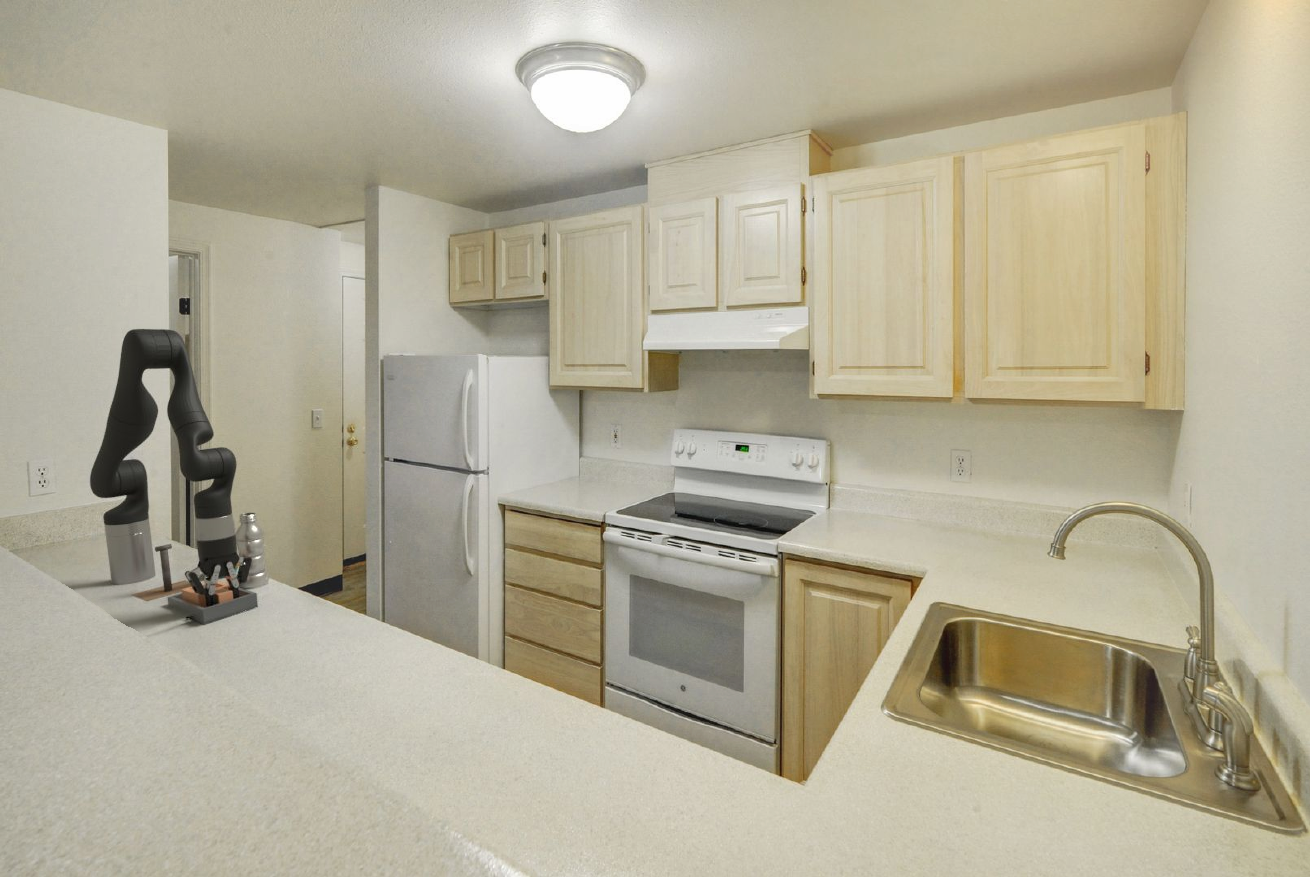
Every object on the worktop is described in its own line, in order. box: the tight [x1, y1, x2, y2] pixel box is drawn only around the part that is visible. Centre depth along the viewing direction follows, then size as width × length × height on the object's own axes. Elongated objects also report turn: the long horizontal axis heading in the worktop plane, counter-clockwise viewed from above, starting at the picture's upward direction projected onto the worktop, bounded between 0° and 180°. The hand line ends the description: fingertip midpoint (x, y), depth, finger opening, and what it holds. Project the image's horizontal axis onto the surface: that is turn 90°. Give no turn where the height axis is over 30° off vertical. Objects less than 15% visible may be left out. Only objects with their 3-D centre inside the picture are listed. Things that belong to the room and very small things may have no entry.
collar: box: [181, 580, 233, 608], centre depth 155 cm, size 12×8×4 cm, turn 60°
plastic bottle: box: [235, 512, 270, 590], centre depth 167 cm, size 6×7×20 cm
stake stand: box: [131, 543, 192, 602], centre depth 164 cm, size 9×12×13 cm
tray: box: [166, 587, 259, 626], centre depth 155 cm, size 16×12×4 cm
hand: (223, 605), depth 153 cm, fingers open, 4 cm apart
